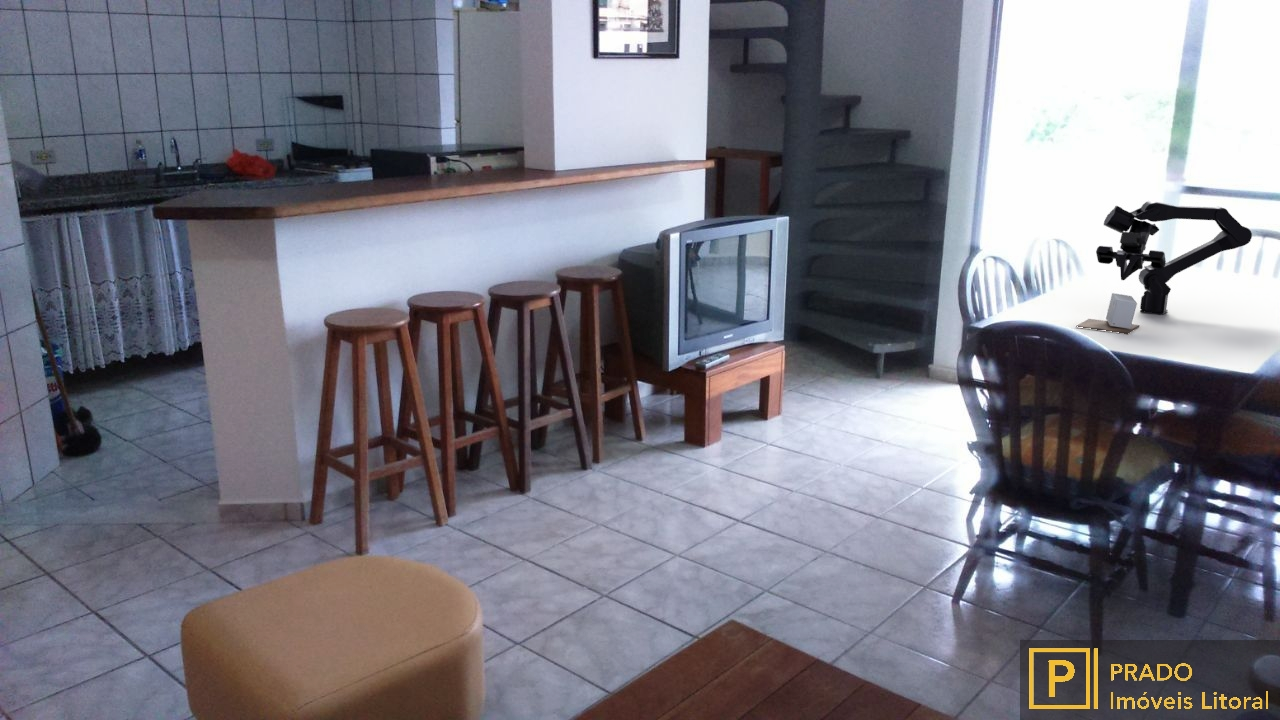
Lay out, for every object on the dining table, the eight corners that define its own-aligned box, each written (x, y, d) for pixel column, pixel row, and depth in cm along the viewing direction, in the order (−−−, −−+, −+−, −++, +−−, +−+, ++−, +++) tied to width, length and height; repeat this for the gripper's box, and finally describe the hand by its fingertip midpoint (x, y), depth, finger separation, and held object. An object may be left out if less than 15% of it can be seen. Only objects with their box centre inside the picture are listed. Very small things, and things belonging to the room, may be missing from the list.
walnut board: (1139, 327, 289) (1139, 325, 289) (1127, 334, 280) (1127, 332, 280) (1088, 320, 297) (1089, 318, 297) (1076, 327, 289) (1076, 325, 288)
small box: (1125, 321, 293) (1130, 330, 283) (1105, 318, 295) (1109, 326, 285) (1132, 295, 291) (1137, 303, 281) (1111, 292, 292) (1116, 299, 282)
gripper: (1101, 219, 303) (1086, 259, 297) (1168, 224, 291) (1153, 266, 286) (1106, 242, 310) (1091, 281, 305) (1171, 247, 299) (1157, 289, 294)
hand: (1122, 279), depth 297 cm, fingers closed
